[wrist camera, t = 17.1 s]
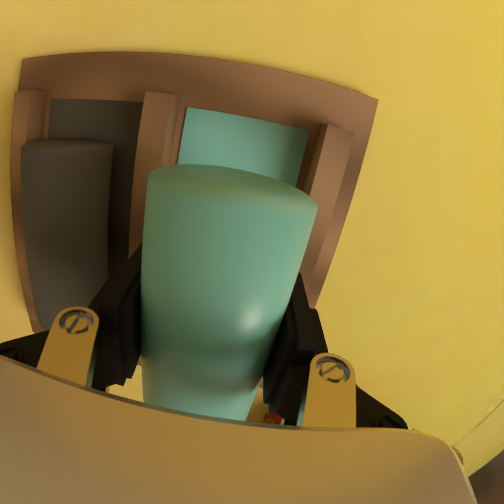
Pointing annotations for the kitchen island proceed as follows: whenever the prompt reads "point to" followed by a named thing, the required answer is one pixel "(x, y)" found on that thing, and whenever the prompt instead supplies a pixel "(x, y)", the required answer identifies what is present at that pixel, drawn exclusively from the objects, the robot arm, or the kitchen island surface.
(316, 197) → the rack
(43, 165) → the dark gray cylinder
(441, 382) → the kitchen island surface
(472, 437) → the kitchen island surface
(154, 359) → the mint green cylinder
